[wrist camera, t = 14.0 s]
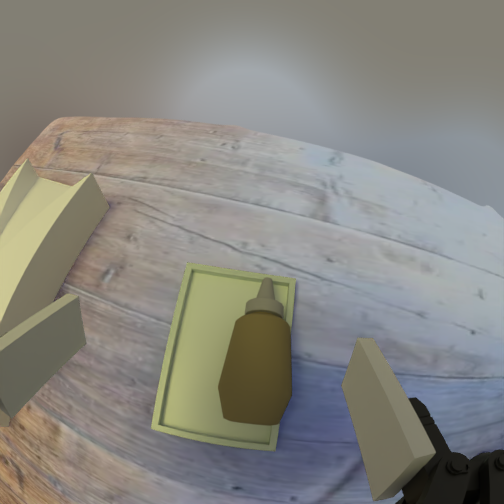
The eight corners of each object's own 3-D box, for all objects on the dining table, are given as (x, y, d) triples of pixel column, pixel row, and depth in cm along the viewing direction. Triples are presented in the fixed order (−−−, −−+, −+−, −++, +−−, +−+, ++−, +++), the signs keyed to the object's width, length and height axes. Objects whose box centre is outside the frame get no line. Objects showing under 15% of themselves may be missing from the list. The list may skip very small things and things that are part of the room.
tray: (189, 268, 39) (187, 262, 37) (293, 283, 39) (295, 278, 37) (155, 427, 28) (151, 428, 26) (273, 448, 27) (275, 451, 26)
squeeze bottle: (202, 416, 22) (229, 261, 33) (223, 419, 29) (242, 293, 39) (286, 427, 21) (298, 262, 31) (290, 426, 27) (299, 294, 38)
